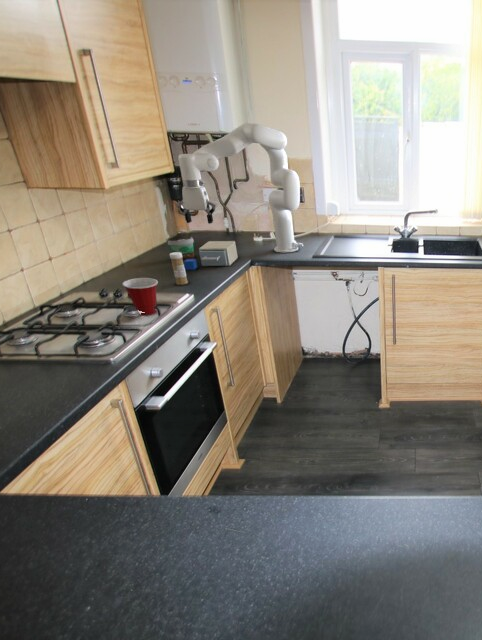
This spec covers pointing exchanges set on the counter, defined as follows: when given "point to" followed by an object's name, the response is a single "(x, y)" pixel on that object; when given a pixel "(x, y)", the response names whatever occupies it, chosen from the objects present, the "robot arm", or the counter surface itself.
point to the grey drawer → (213, 257)
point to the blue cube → (190, 264)
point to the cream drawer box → (222, 245)
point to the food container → (183, 247)
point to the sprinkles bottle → (178, 268)
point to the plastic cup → (142, 294)
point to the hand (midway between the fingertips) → (199, 222)
